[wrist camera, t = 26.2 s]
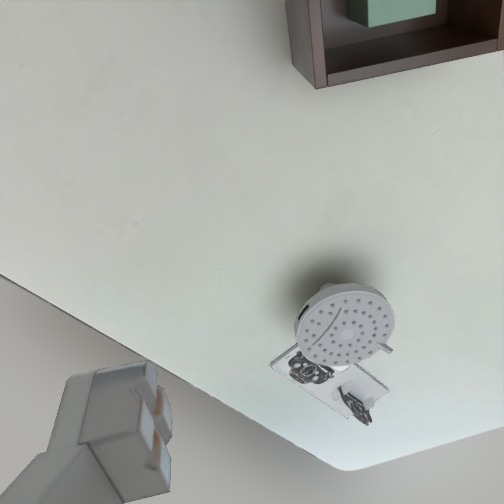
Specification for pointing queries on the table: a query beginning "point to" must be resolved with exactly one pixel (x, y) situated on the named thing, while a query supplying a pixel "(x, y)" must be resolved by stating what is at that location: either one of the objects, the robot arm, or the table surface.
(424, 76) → the table surface
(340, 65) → the chest
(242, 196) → the table surface
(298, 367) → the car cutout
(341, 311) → the showerhead
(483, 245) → the table surface
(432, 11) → the soap block
